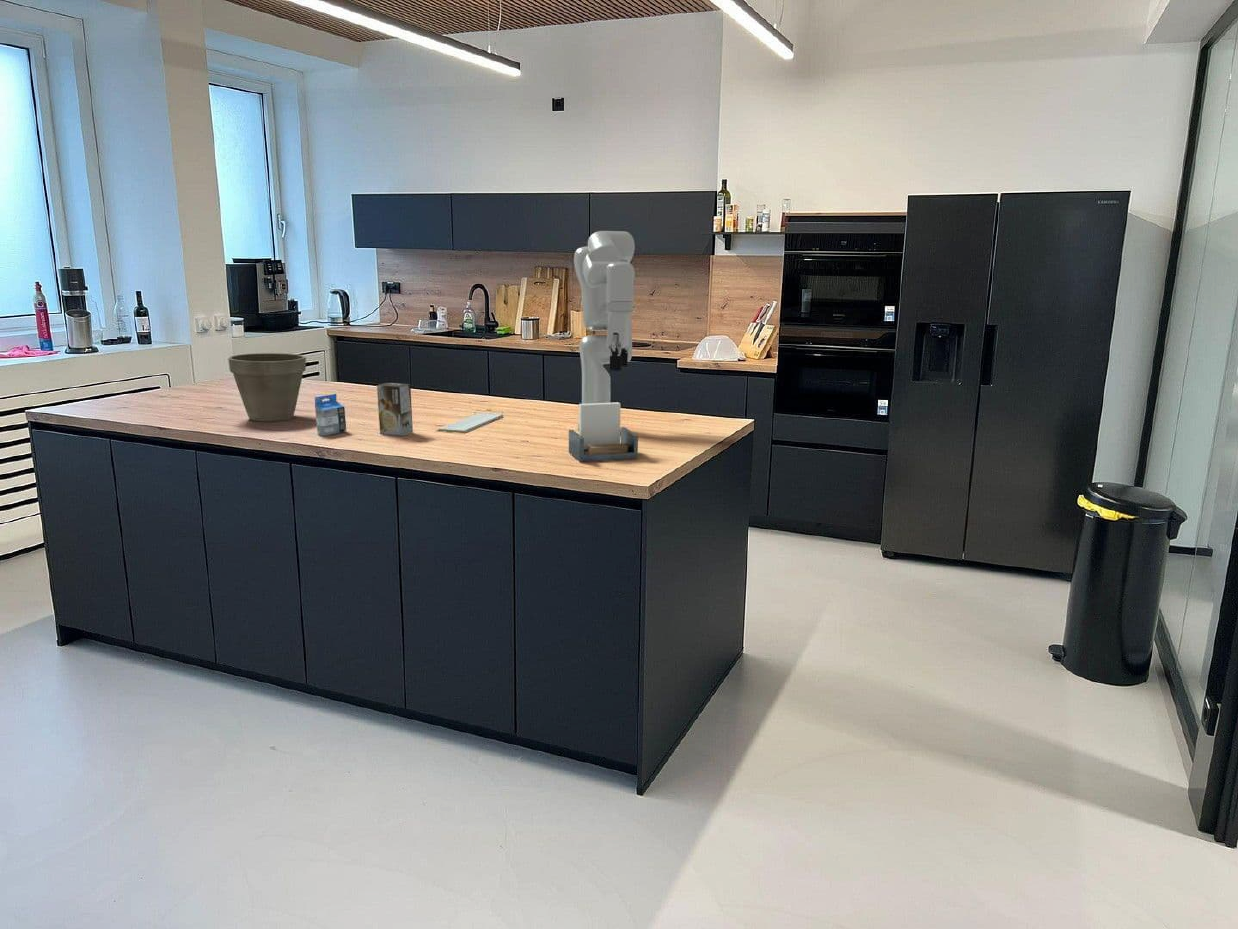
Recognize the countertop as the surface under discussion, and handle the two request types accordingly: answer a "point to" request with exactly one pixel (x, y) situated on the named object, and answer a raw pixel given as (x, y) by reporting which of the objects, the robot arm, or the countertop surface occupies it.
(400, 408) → the coffee box
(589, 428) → the white rectangular panel
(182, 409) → the countertop surface
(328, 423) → the label tape box
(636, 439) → the offcut rack
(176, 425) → the countertop surface
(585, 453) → the offcut stack
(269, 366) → the plant pot
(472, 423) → the baseboard molding
